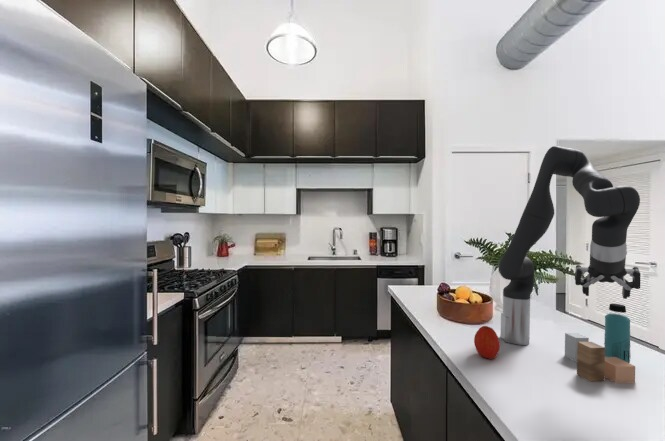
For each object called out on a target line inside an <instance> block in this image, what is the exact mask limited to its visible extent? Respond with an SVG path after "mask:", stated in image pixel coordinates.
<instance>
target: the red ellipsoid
mask: <svg viewBox="0 0 665 441" xmlns="http://www.w3.org/2000/svg"><path fill="white" fill-rule="evenodd" d="M473 343H474V347H475V350H476V351H477V353H478V354H479V355H480V357H482V358H485V359H488V360H494V359H495V358H496V357H497V356H498V355H499V354H498V353H499V352H500V347H501V344H500V339H499V336H498V334H497V332H496V331H495V330H494V328H492V327H490V326H488V325H483V326H481V327H479V328H478V330H476V332H475V335H474V338H473Z"/></svg>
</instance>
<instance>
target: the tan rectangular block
mask: <svg viewBox="0 0 665 441" xmlns="http://www.w3.org/2000/svg"><path fill="white" fill-rule="evenodd" d="M604 347H605V346H602V345H599V344H598V343H596V342H593V341H589V342H578V349H577V362H576V374H577V376H579V377H581V378H582V379H584V380H586V381H588V382H597V383H599V382H605V377H604V371H605V348H604Z"/></svg>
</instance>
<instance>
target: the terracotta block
mask: <svg viewBox="0 0 665 441" xmlns="http://www.w3.org/2000/svg"><path fill="white" fill-rule="evenodd" d="M604 378H605V379H606V378H607V380H610V381H611V382H613V383H615V384H619V383H620V384H622V383H626V384H628V383H629V384H632V383H633V384H635V383H636V365H634V364H632V363H628V362H625V361H623V360H621V359H619V358H617V357H605V371H604Z"/></svg>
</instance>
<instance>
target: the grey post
mask: <svg viewBox="0 0 665 441" xmlns="http://www.w3.org/2000/svg"><path fill="white" fill-rule="evenodd" d="M589 340H590V339H589V337H588V336H586V335H583V334H581V333H580V332H565V333H564V357H566V358H568V359H569V360H572V361H573V362H576V363H577V349H578V342H590V341H589Z"/></svg>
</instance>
